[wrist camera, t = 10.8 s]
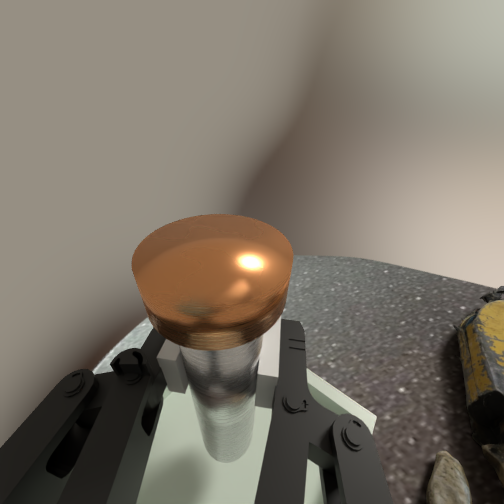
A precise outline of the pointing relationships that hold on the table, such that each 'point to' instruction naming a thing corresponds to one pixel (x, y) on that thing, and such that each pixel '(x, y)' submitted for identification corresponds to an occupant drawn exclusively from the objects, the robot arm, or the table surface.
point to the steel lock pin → (216, 313)
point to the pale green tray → (217, 473)
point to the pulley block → (477, 399)
